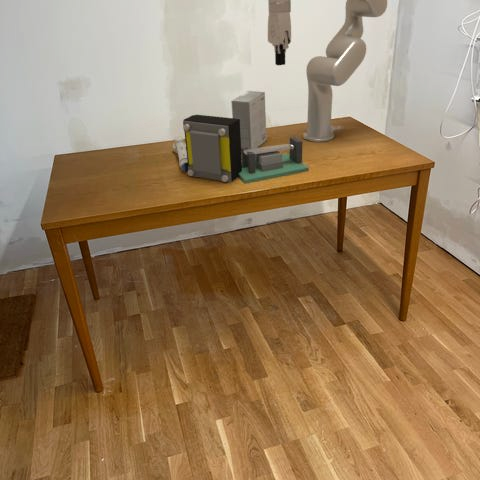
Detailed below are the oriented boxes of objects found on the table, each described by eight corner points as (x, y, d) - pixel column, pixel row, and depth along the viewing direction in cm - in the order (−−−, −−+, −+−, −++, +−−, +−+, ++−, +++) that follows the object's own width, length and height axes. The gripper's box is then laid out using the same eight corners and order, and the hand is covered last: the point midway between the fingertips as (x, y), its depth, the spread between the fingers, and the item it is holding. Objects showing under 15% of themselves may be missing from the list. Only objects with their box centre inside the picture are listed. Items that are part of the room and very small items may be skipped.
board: (288, 156, 176) (288, 132, 172) (308, 170, 163) (309, 145, 159) (228, 167, 169) (227, 143, 165) (245, 183, 156) (244, 157, 152)
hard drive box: (250, 138, 196) (248, 90, 186) (266, 140, 193) (266, 91, 183) (233, 150, 184) (230, 100, 174) (251, 153, 181) (249, 101, 171)
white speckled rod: (178, 163, 165) (171, 133, 184) (180, 179, 169) (172, 148, 188) (193, 161, 166) (184, 131, 185) (194, 177, 170) (185, 146, 189)
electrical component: (185, 177, 164) (179, 121, 154) (200, 167, 172) (196, 113, 161) (229, 185, 157) (225, 127, 146) (243, 174, 164) (240, 118, 154)
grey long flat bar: (289, 146, 168) (289, 142, 167) (295, 149, 164) (295, 145, 164) (242, 152, 162) (242, 148, 161) (247, 156, 158) (247, 152, 158)
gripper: (260, 7, 163) (262, 62, 172) (279, 10, 151) (280, 69, 160) (279, 5, 165) (280, 60, 175) (299, 8, 153) (299, 66, 163)
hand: (280, 64), depth 167 cm, fingers closed
